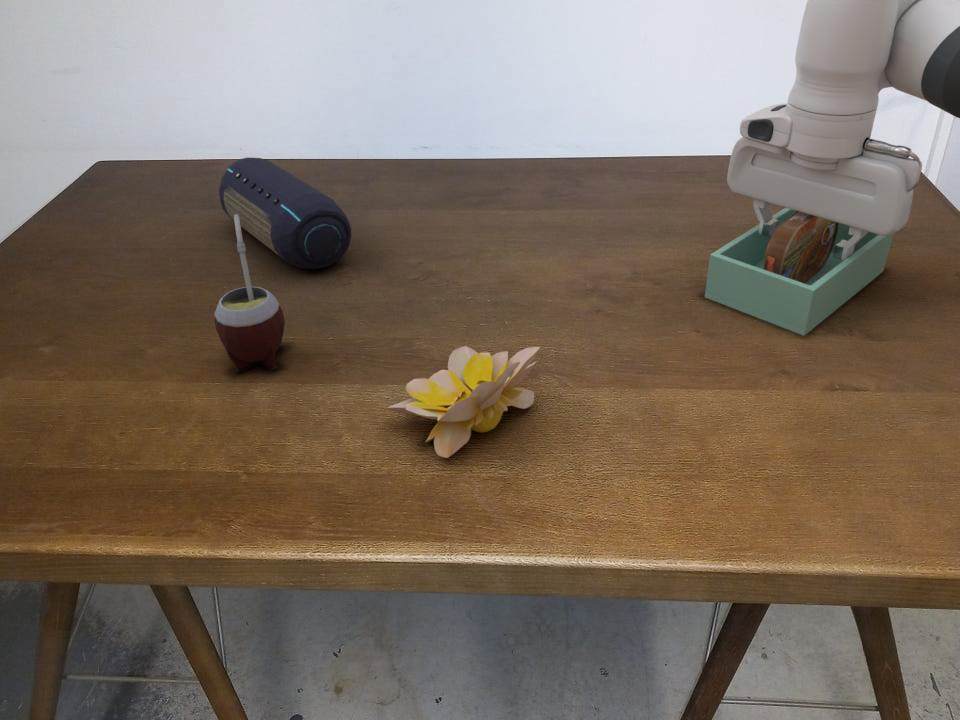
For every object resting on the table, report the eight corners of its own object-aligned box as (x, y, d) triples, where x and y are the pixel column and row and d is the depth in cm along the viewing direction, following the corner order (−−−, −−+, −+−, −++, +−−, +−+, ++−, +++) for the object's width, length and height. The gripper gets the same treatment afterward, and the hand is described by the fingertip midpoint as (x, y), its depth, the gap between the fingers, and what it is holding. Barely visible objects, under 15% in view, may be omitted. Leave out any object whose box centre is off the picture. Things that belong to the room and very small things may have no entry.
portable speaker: (218, 226, 119) (201, 160, 114) (280, 206, 124) (267, 142, 118) (296, 289, 102) (281, 216, 97) (364, 264, 107) (354, 193, 102)
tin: (777, 307, 92) (790, 240, 88) (752, 298, 94) (763, 232, 89) (834, 258, 101) (848, 195, 96) (809, 251, 103) (822, 189, 98)
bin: (788, 241, 107) (795, 200, 104) (883, 272, 100) (895, 228, 96) (704, 298, 96) (709, 254, 93) (803, 337, 89) (813, 290, 85)
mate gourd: (252, 387, 85) (220, 260, 77) (209, 361, 90) (174, 238, 81) (308, 355, 90) (283, 232, 81) (264, 332, 94) (236, 212, 86)
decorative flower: (487, 343, 87) (493, 273, 80) (561, 408, 82) (575, 339, 74) (372, 411, 80) (367, 341, 73) (445, 487, 75) (448, 419, 67)
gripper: (939, 142, 83) (905, 263, 90) (757, 104, 95) (741, 213, 103) (913, 160, 79) (879, 284, 87) (727, 118, 92) (713, 230, 99)
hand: (803, 245), depth 95 cm, fingers open, 8 cm apart
